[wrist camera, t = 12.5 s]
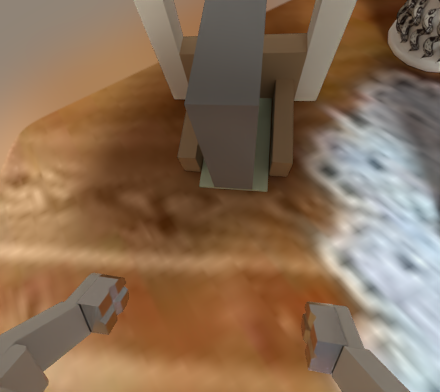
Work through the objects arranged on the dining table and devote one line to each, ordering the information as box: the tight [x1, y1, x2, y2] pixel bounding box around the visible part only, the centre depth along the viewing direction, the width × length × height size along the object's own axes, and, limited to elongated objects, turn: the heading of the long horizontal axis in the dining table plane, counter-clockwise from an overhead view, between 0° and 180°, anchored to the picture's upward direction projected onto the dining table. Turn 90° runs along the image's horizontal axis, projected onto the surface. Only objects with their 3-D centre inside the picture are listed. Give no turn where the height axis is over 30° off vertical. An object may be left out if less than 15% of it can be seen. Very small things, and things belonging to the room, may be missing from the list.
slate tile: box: [184, 0, 267, 190], centre depth 15 cm, size 9×3×10 cm, turn 173°
